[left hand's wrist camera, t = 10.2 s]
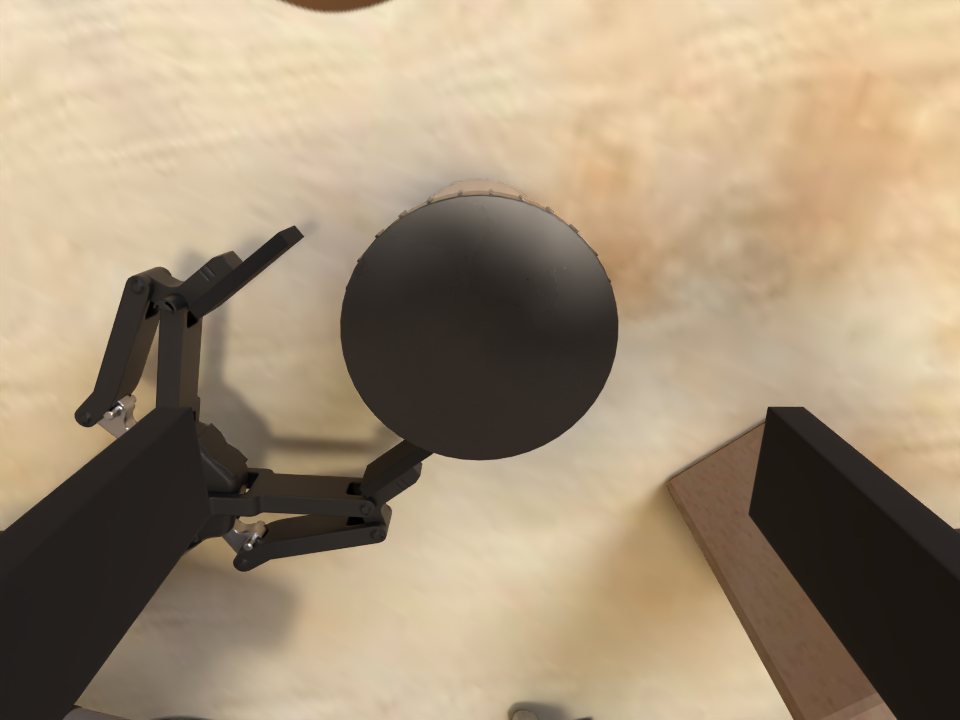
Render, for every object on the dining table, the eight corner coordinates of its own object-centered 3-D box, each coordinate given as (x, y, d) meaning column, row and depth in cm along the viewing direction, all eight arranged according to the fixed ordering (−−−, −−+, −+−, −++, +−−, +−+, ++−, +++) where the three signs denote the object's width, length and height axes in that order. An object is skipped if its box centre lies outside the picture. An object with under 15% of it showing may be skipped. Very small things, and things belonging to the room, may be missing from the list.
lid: (296, 322, 23) (279, 338, 21) (479, 125, 21) (479, 123, 19) (478, 481, 26) (478, 508, 24) (662, 322, 23) (678, 338, 21)
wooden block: (729, 570, 46) (902, 866, 27) (662, 481, 43) (803, 741, 24) (848, 503, 44) (1126, 774, 25) (786, 405, 41) (1045, 627, 22)
